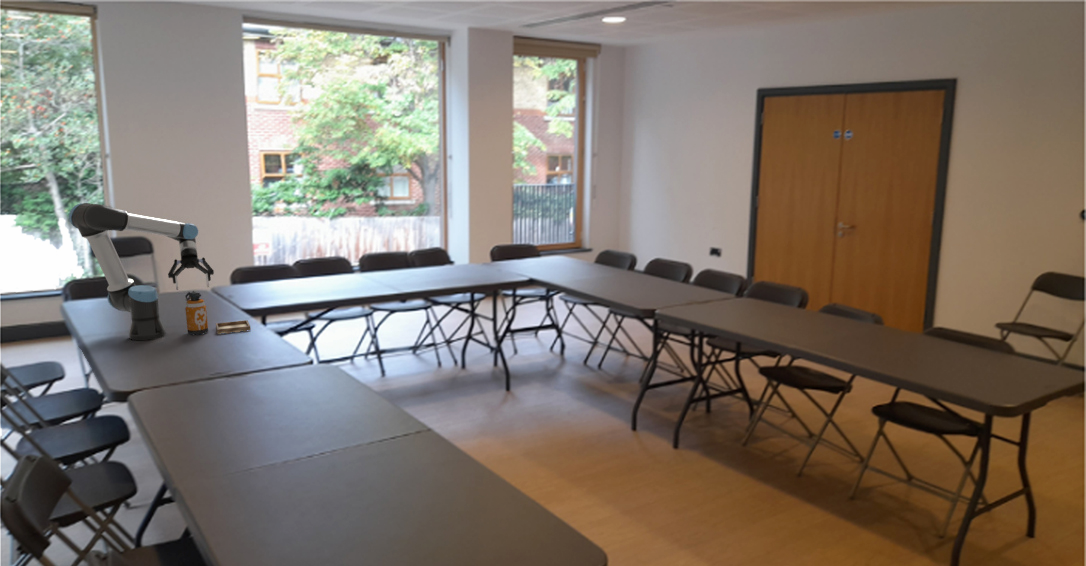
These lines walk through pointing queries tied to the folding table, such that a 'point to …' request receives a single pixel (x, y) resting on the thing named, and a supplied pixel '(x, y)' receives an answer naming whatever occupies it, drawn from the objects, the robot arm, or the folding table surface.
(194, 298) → the canister
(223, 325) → the wooden tray
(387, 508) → the folding table surface
